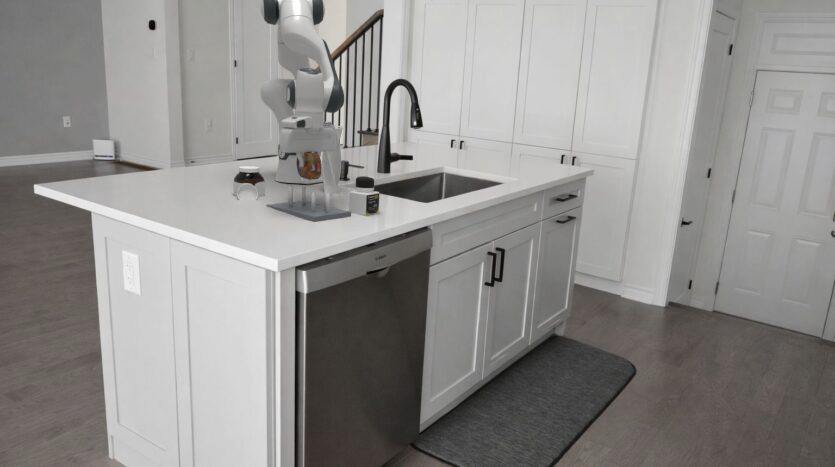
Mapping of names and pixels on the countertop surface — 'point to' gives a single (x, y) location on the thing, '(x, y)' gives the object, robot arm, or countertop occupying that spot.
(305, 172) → the tin
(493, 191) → the countertop surface
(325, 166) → the skyscraper
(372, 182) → the medicine bottle
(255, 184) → the spread jar
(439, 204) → the countertop surface
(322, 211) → the pin tray
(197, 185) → the countertop surface
